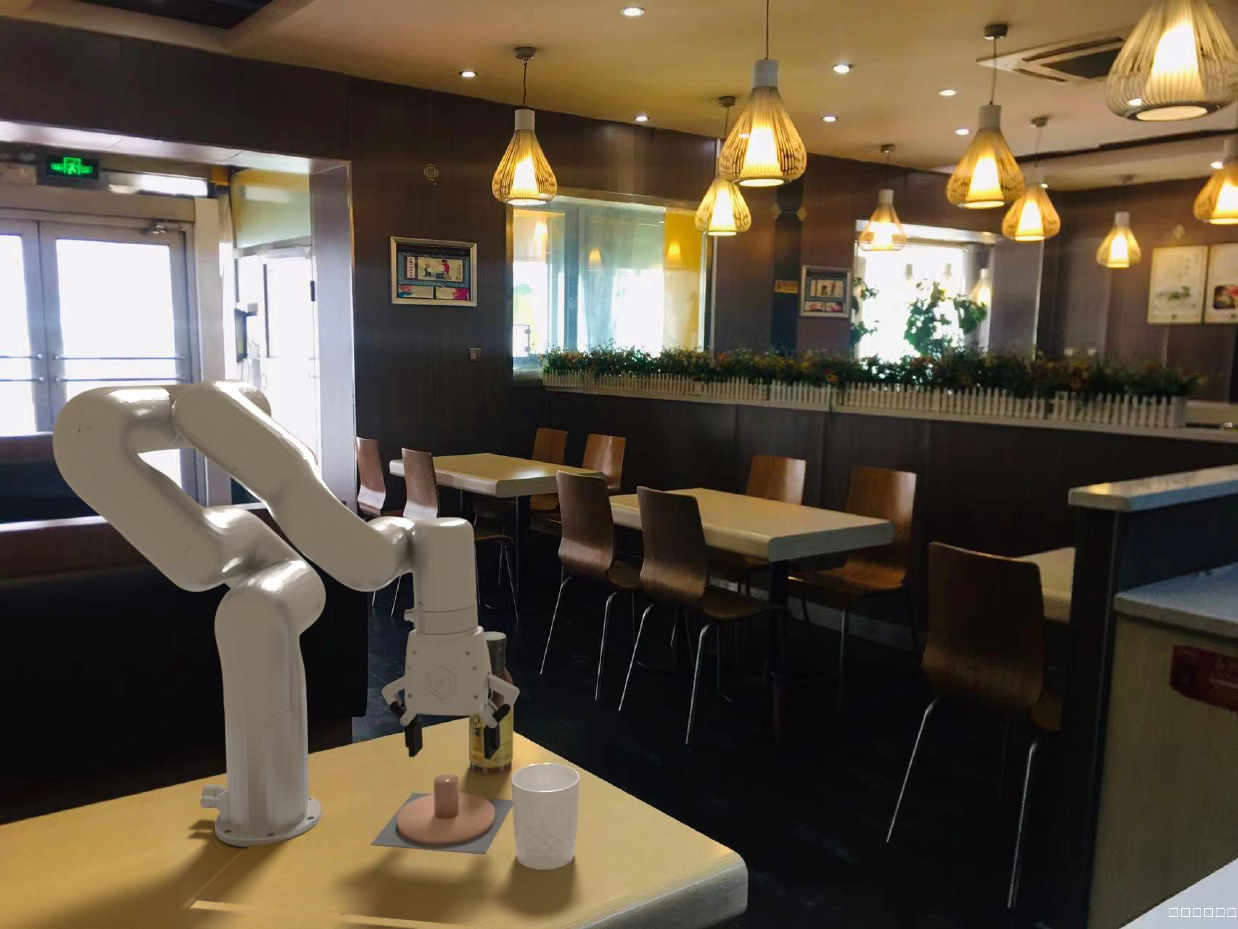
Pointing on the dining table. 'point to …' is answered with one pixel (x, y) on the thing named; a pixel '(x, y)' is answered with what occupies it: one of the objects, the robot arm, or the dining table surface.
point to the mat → (476, 845)
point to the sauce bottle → (476, 724)
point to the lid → (445, 815)
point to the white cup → (545, 814)
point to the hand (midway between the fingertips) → (453, 753)
